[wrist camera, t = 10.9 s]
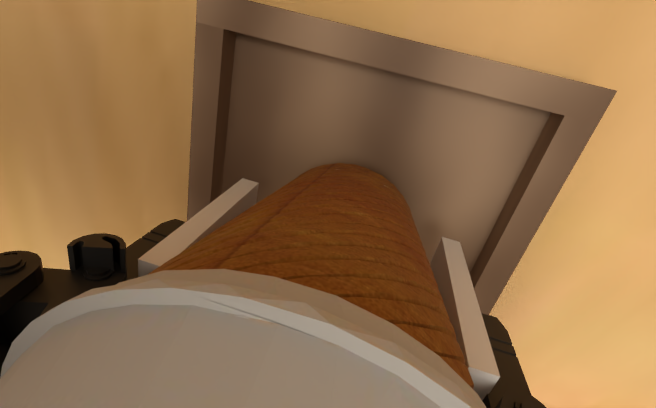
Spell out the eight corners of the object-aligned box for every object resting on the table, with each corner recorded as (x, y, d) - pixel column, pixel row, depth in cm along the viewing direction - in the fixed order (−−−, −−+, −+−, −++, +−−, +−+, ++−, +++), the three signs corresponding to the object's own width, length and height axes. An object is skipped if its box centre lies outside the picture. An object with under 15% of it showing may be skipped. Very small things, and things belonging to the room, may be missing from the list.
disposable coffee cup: (399, 339, 17) (395, 800, 7) (227, 269, 18) (-38, 598, 7) (497, 174, 13) (904, 689, 3) (270, 88, 14) (-214, 217, 3)
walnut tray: (201, 276, 22) (183, 296, 20) (221, -5, 15) (197, -12, 13) (444, 355, 21) (448, 384, 19) (589, 85, 14) (617, 91, 12)
